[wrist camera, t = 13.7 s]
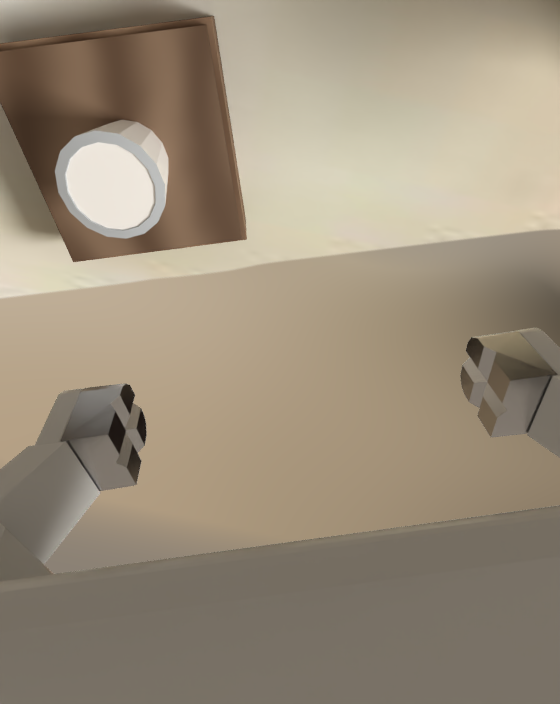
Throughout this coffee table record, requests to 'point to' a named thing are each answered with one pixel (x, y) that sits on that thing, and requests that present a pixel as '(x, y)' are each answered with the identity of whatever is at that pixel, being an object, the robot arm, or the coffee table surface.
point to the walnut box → (139, 106)
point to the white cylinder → (114, 178)
